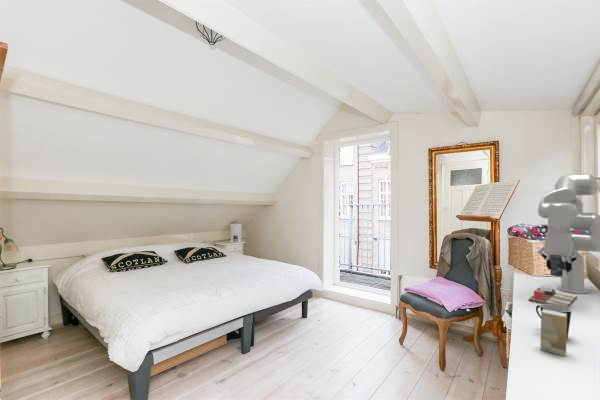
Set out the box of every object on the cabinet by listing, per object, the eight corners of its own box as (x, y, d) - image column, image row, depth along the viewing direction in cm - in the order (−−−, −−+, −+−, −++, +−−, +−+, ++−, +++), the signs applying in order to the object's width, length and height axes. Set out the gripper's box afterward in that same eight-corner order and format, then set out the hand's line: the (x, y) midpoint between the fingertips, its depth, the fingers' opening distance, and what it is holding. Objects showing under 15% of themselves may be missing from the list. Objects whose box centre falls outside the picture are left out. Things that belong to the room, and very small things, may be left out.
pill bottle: (570, 277, 138) (570, 252, 138) (555, 277, 139) (555, 251, 139) (562, 274, 143) (562, 249, 143) (547, 274, 145) (547, 249, 145)
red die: (535, 297, 154) (535, 288, 154) (545, 298, 151) (544, 290, 151) (533, 298, 151) (533, 290, 151) (543, 300, 148) (543, 291, 149)
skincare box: (540, 349, 100) (539, 311, 100) (542, 345, 103) (541, 308, 103) (566, 356, 95) (566, 316, 95) (567, 352, 98) (567, 313, 98)
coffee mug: (576, 343, 105) (576, 313, 105) (545, 339, 107) (545, 310, 108) (561, 330, 115) (561, 303, 116) (533, 326, 118) (533, 300, 119)
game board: (541, 292, 166) (540, 286, 166) (577, 298, 155) (577, 292, 155) (528, 301, 150) (528, 294, 150) (567, 308, 139) (567, 302, 139)
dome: (541, 291, 163) (541, 283, 163) (552, 293, 159) (552, 285, 159) (538, 293, 160) (538, 284, 160) (550, 295, 156) (550, 286, 156)
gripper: (585, 231, 137) (585, 272, 137) (537, 229, 150) (537, 266, 150) (582, 232, 132) (583, 275, 132) (532, 230, 145) (533, 268, 145)
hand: (558, 270), depth 141 cm, fingers closed on pill bottle, 6 cm apart
